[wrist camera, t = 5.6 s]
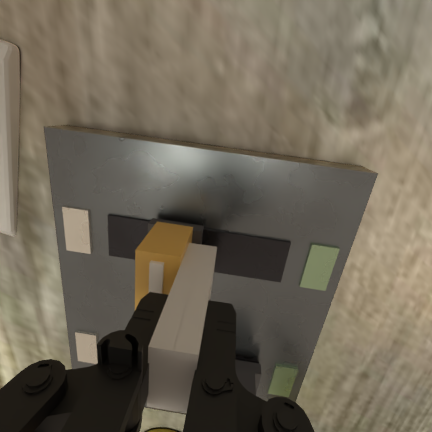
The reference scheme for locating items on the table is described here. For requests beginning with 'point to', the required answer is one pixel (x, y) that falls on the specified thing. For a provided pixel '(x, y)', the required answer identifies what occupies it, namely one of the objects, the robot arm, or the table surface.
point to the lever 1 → (162, 255)
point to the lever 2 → (248, 375)
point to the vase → (161, 430)
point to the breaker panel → (205, 237)
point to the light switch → (9, 135)
